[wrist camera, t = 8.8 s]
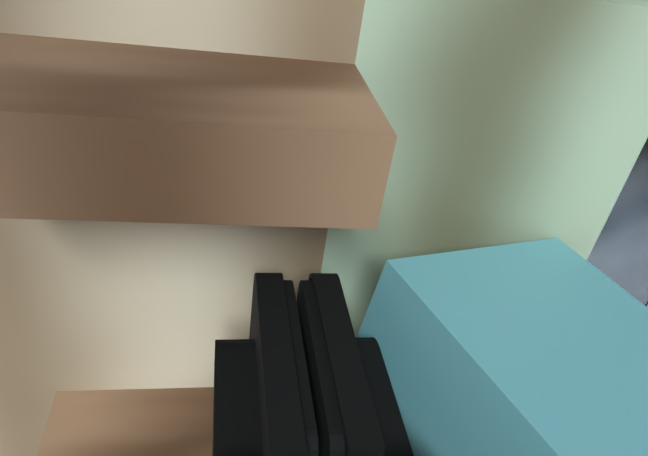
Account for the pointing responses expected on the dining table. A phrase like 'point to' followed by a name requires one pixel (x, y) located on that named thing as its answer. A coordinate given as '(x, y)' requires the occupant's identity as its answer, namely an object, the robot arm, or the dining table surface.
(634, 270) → the dining table surface
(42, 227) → the board
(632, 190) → the dining table surface
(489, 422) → the teal cube
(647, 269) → the dining table surface
